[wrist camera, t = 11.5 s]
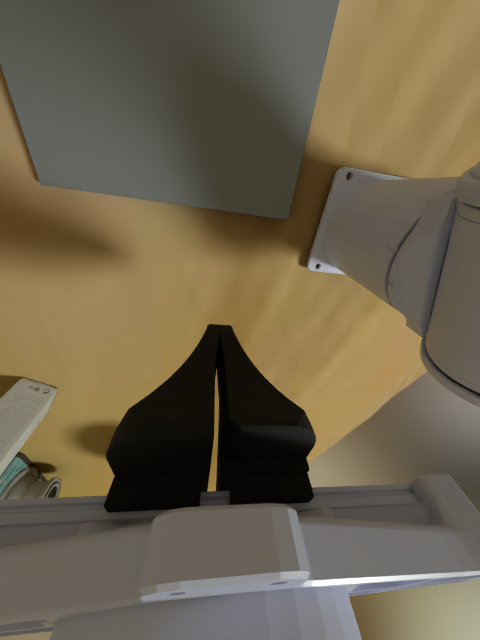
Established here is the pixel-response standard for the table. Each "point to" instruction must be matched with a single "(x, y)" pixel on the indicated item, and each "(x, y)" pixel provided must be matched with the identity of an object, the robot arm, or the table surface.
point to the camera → (26, 481)
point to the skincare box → (21, 415)
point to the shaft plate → (168, 95)
